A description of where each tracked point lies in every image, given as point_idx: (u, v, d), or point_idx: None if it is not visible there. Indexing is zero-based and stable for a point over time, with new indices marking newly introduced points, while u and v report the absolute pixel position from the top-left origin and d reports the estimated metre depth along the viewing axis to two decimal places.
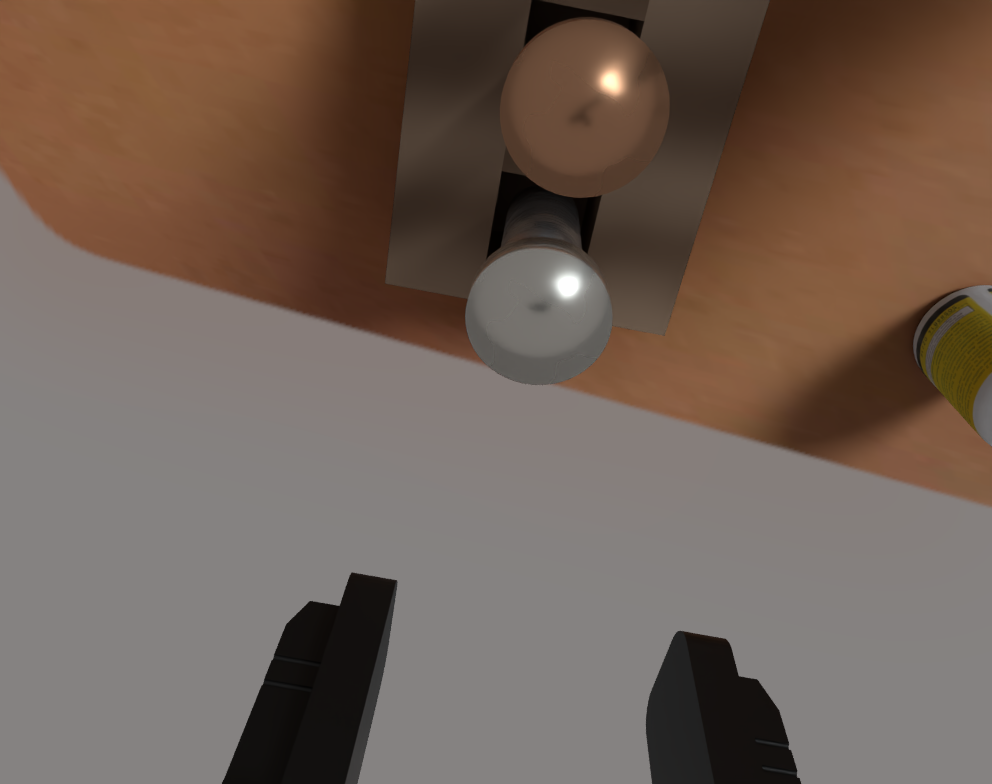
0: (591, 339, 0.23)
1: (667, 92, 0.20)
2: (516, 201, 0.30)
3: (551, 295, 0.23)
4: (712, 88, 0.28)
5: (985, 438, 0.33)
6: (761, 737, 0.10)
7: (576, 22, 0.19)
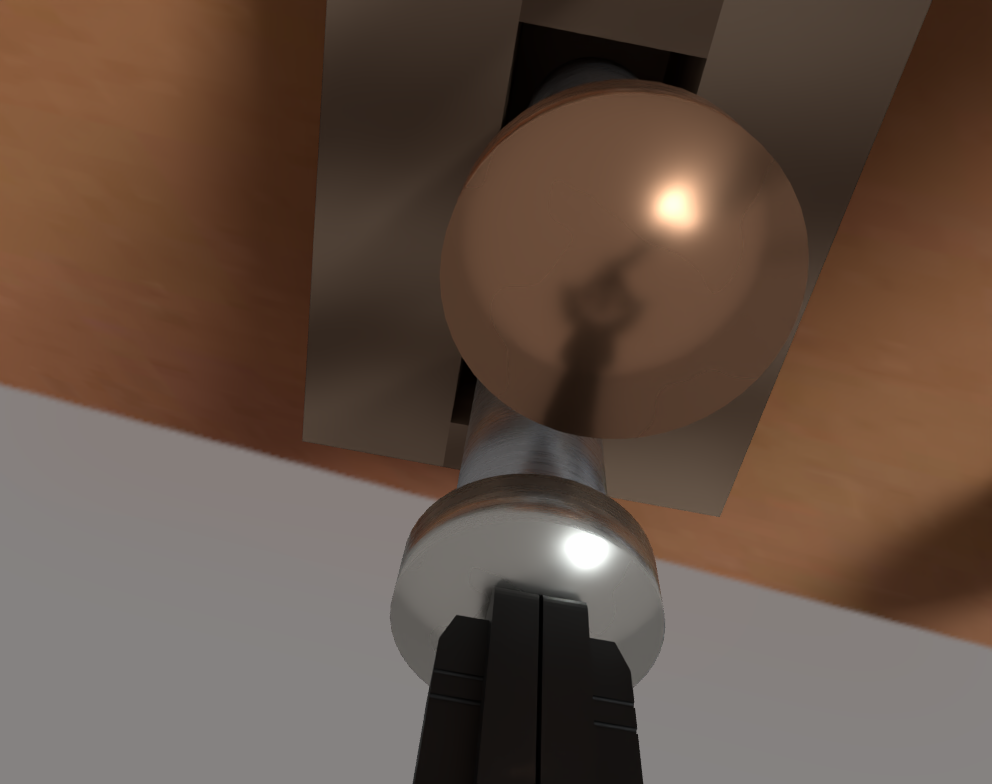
0: None
1: (805, 247, 0.09)
2: None
3: (550, 592, 0.12)
4: (814, 166, 0.17)
5: None
6: (607, 695, 0.11)
7: (607, 99, 0.08)
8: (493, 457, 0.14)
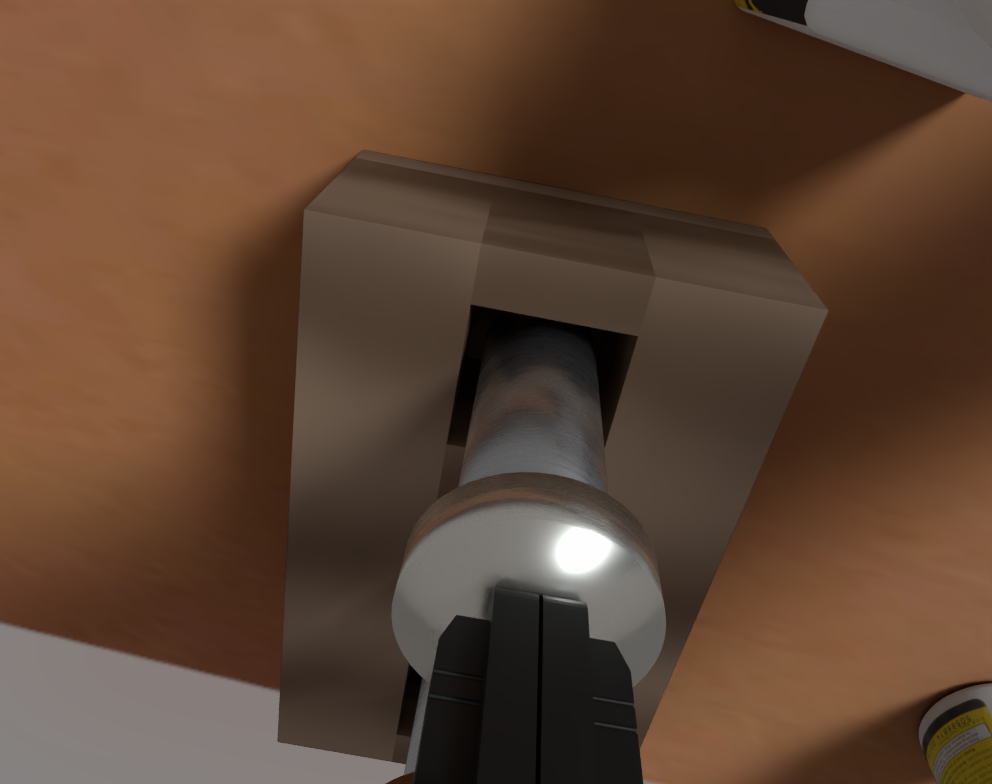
0: None
1: None
2: None
3: None
4: (668, 594, 0.22)
5: None
6: (607, 695, 0.11)
7: None
8: None
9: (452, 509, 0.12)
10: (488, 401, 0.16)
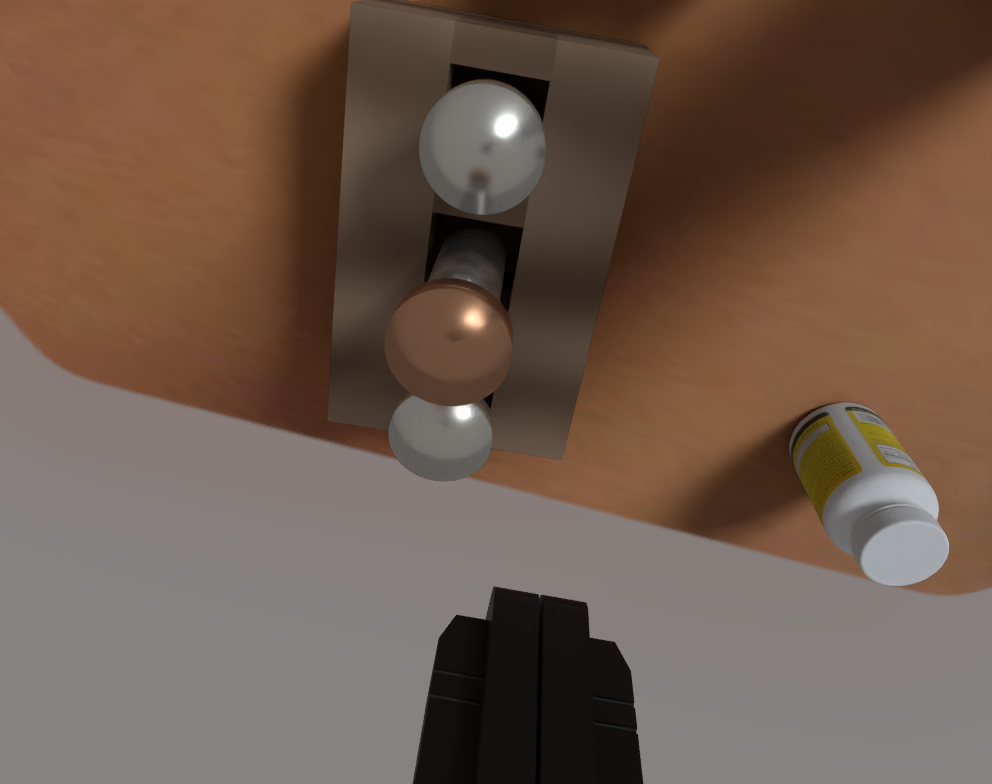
0: (478, 451, 0.33)
1: (508, 337, 0.26)
2: None
3: (447, 422, 0.32)
4: (582, 276, 0.34)
5: (833, 542, 0.39)
6: (607, 695, 0.11)
7: (435, 292, 0.25)
8: None
9: (446, 93, 0.26)
10: None
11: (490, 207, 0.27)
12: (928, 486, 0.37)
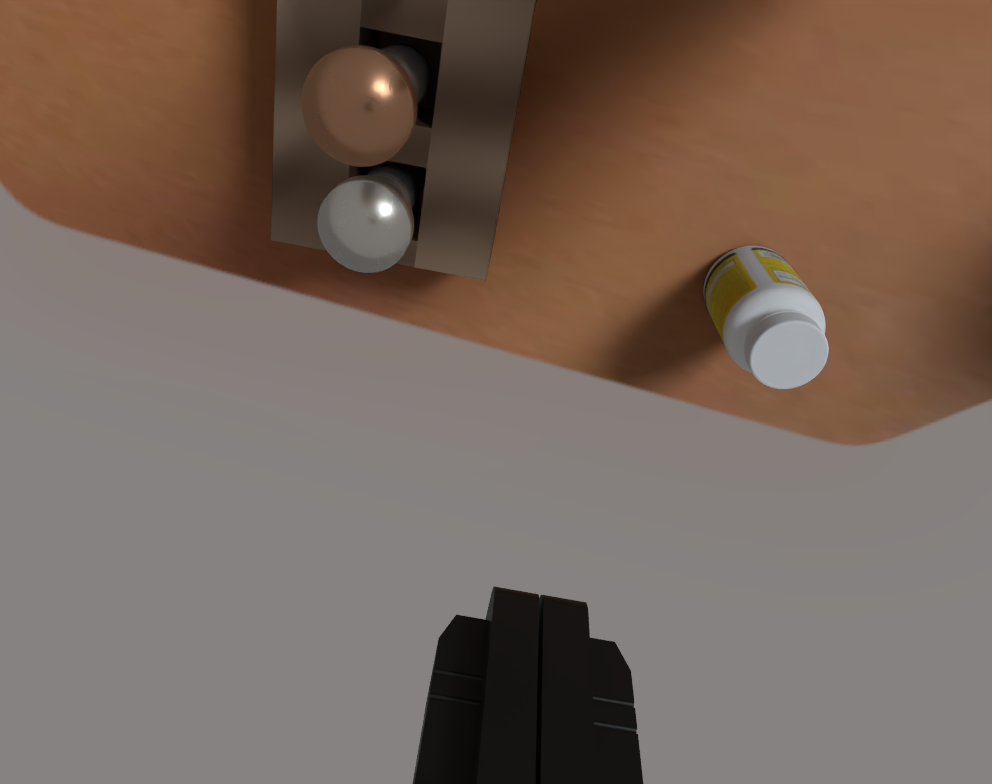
0: (398, 241, 0.36)
1: (409, 95, 0.30)
2: None
3: (369, 211, 0.36)
4: (497, 91, 0.38)
5: (733, 359, 0.43)
6: (607, 696, 0.11)
7: (343, 49, 0.29)
8: None
9: None
10: None
11: None
12: (814, 300, 0.41)
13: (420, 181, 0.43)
